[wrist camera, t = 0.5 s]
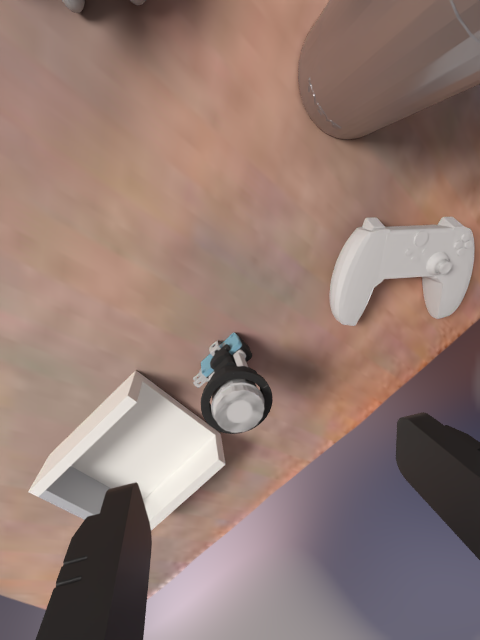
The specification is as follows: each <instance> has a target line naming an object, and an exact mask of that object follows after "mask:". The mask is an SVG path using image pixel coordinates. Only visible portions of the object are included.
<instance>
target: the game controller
mask: <svg viewBox="0 0 480 640" xmlns="http://www.w3.org/2000/svg"><path fill="white" fill-rule="evenodd" d="M473 263H474V238H473V233H472V231H471V229H470V228H466V227H464V226H463V225H462V224H461V223H459V222H458V221H457V220H456V219H455V218H453V217H442V218H441V220H440V222H439V223H438V225H416V226H391V227H385V226H384V225H383V224H382V223H381V222H380V221H379V219H378V218H366V219H365V221H364V223H363V226H362V227H358V228H357V229H356V230H355V231H354V232H353V233H352V235H351V236H350V237H349V239H348V240H347V242H346V243H345V245H344V246H343V248H342V250H341V252H340V254H339V257H338V259H337V262H336V265H335V268H334V271H333V275H332V279H331V285H330V306H331V310H332V313H333V315H334V317H335V318H336V320H338V321H339V322H340V323H342V324H343V325H352V326H355V325H356V324H357V322H358V320H359V318H360V317H361V315H362V313H363V311H364V309H365V307H366V305H367V303H368V301H369V299H370V297H371V294H372V292H373V289H374V287H376V286H377V285H378V284H380V283H381V282H382V281H383V280H384V279H393V278H409V277H422V284H423V293H424V299H425V303H426V307H427V309H428V312H429V313H430V315H431V316H432V317H434V318H436V319H439V318H443V317H446V316H449V315H451V314H452V313H453V312H454V311H455V310H456V309H457V308H458V306H459V305H460V303H461V301H462V299H463V297H464V295H465V293H466V291H467V288H468V285H469V282H470V278H471V274H472V269H473Z"/></svg>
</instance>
